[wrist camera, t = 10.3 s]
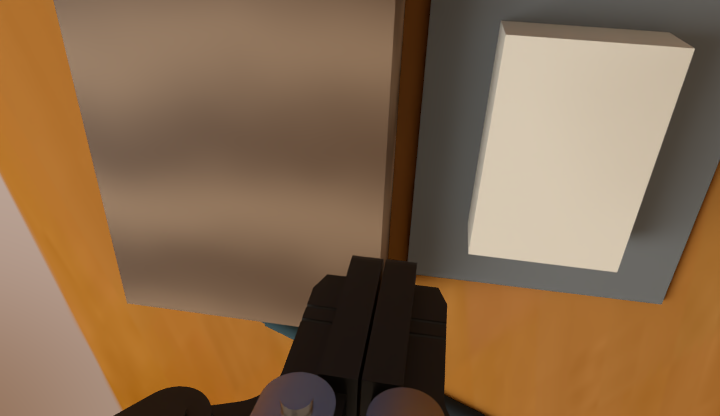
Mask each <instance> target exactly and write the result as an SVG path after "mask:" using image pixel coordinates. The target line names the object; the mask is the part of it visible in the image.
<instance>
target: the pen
mask: <svg viewBox="0 0 720 416" xmlns="http://www.w3.org/2000/svg"><path fill="white" fill-rule="evenodd" d="M263 323H265V326H267V327H269V328H271V329H273V330H275V331H277V332H279V333H281V334H283V335H285V336H287V337H289V338H291V339H293V340H294V338H295V336H296V333H297V330H298V328H299V327H297V326H289V325H282V324H275V323H267V322H263ZM444 401H445V405H446V409H447V411H448V413H449V415H450V416H485V415H484V414H482V413H480V412H478V411H476V410H474V409H472V408H470V407H468V406H466V405H464V404H462V403H460V402H458V401H456V400H454V399H452V398H450V397H448V396H446V395H444Z"/></svg>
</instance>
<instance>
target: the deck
mask: <svg viewBox="0 0 720 416" xmlns="http://www.w3.org/2000/svg"><path fill="white" fill-rule="evenodd" d="M54 5H55V9H56V13H57V17H58V21H59V25H60V29H61V33H62V37H63V41H64V46H65V50H66V54H67V58H68V62H69V66H70V70H71V74H72V78H73V83H74V87H75V91H76V95H77V99H78V103H79V107H80V111H81V115H82V119H83V124H84V128H85V132H86V136H87V140H88V144H89V148H90V152H91V156H92V160H93V165H94V169H95V173H96V177H97V181H98V185H99V189H100V193H101V197H102V201H103V206H104V210H105V214H106V218H107V222H108V226H109V230H110V234H111V238H112V242H113V247H114V251H115V255H116V259H117V263H118V267H119V271H120V275H121V279H122V283H123V288H124V292H125V296H126V300H127V303H130V304H137V305H144V306H151V307H159V308H166V309H173V310H180V311H188V312H195V313H202V314H209V315H217V316H224V317H231V318H238V319H246V320H253V321H260V322H267V323H275V324H282V325H289V326H297V327H299V325H300V322H301V321H302V317H303V314H304V311H305V308H306V307H307V303H308V300H309V298H310V295H311V292H312V289H313V287H314V286H315V285H316V284H317V283H319V282H320V281H321V280H322V279H323V278H324V277H325V276H326V275H327V274H330V275H338V276H346V275H347V271H348V268H349V265H350V261H351V258H352V256H353V255H356V256H364V257H372V258H381V259H384V266H385V262H386V259H388V250H389V235H390V221H391V206H392V191H393V176H394V161H395V147H396V132H397V117H398V102H399V87H400V72H401V58H402V43H403V28H404V13H405V0H54Z"/></svg>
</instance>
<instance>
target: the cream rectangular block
mask: <svg viewBox="0 0 720 416" xmlns="http://www.w3.org/2000/svg"><path fill="white" fill-rule="evenodd" d="M694 50H695V48H693V47H692V46H690V45H689V44H687V43H685V42H684V41H682V40H681V39H679V38H677V37H676V36H674V35H673V34H671V33H670V32H657V31H643V30H629V29H615V28H600V27H586V26H572V25H558V24H543V23H529V22H515V21H501V23H500V29H499V36H498V42H497V48H496V54H495V60H494V66H493V72H492V78H491V84H490V90H489V97H488V103H487V109H486V115H485V121H484V127H483V133H482V139H481V145H480V151H479V158H478V164H477V170H476V176H475V182H474V188H473V194H472V200H471V206H470V212H469V219H468V254H471V255H480V256H488V257H496V258H504V259H512V260H520V261H528V262H536V263H545V264H553V265H561V266H569V267H577V268H585V269H593V270H601V271H610V272H617V271H618V268H619V266H620V263H621V260H622V257H623V254H624V251H625V248H626V246H627V243H628V240H629V237H630V234H631V231H632V228H633V225H634V223H635V220H636V217H637V214H638V211H639V208H640V205H641V202H642V200H643V197H644V194H645V191H646V188H647V185H648V182H649V179H650V177H651V174H652V171H653V168H654V165H655V162H656V159H657V156H658V154H659V151H660V148H661V145H662V142H663V139H664V136H665V133H666V131H667V128H668V125H669V122H670V119H671V116H672V113H673V110H674V108H675V105H676V102H677V99H678V96H679V93H680V90H681V87H682V85H683V82H684V79H685V76H686V73H687V70H688V67H689V64H690V62H691V59H692V56H693V53H694Z"/></svg>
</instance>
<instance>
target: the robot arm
mask: <svg viewBox="0 0 720 416" xmlns="http://www.w3.org/2000/svg"><path fill="white" fill-rule="evenodd" d="M416 271H417V263H415V262H407V261H398V260H390V259H386V262H385V266H384V259H381V258H372V257H364V256H356V255H353V256H352V258H351V261H350V265H349V268H348V271H347V275H346V276H338V275H330V274H327V275H326V276H325V277H324V278H323V279H322V280H321V281H320V282H319V283H317V284H316V285H315V286H314V287H313V289H312V292H311V295H310V298H309V300H308V303H307V307H306V308H305V311H304V314H303V317H302V321H301V322H300V325H299V328H298V330H297V333H296V336H295V338H294V341H293V344H292V347H291V349H290V352H289V355H288V357H287V360H286V363H285V366H284V368H283V371H282V373H281V375H280V377H278V378H276V379H274V380H273V381H271V382H270V383H269V384H268V385H267V386H266V387H265V388H264V389H263V391H262V393H261V394H260V395H259V396H257V397H254V398H252V399H249V400H245V401H240V402H234V403H226V404H219V405H210V402H209V400H208V399H207V397H206V396H205V395H204V394H203V393H202V392H200V391H198V390H196V389H194V388H190V387H182V386H178V387H170V388H166V389H163V390H160V391H158V392H156V393H154V394H152V395H150V396H148V397H146V398H144V399H143V400H141V401H139V402H137V403H136V404H134V405H132V406H130V407H128V408H127V409H125V410H123V411H121V412H120V413H118V414H116V415H114V416H450V415H449V413H448V411H447V409H446V405H445V401H444V382H445V352H446V322H447V303H446V302H445V300H444V298H443V296H442V294H441V292H440V290H439V288H436V287H428V286H419V285H415V281H416Z"/></svg>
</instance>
